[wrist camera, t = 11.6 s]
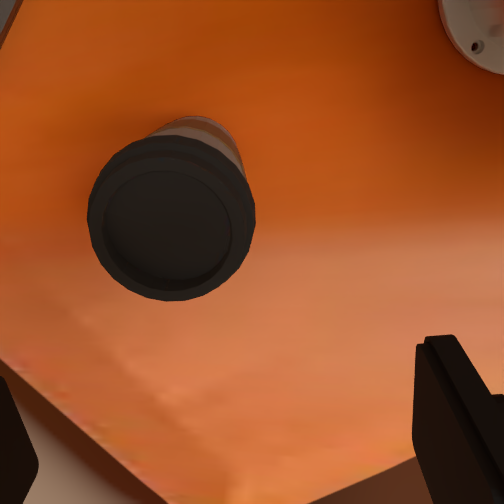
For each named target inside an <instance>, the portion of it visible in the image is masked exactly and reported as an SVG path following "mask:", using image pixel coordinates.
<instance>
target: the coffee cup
mask: <svg viewBox="0 0 504 504" xmlns="http://www.w3.org/2000/svg"><path fill="white" fill-rule="evenodd" d="M87 222H88V227H89V232H90V237H91V242H92V247H93V249H94V251H95V253H96V255H97V257H98V259H99V261H100V263H101V265H102V266H103V267H104V268H105V269H106V271H107V272H108V273H109V274H110V275H111V276H112V278H113V279H115V280H116V281H117V282H119V283H120V284H121V285H123V286H124V287H125V288H127V289H128V290H130V291H132V292H135V293H137V294H139V295H141V296H144V297H146V298H150V299H156V300H161V301H186V300H189V299H193V298H196V297H200V296H203V295H205V294H207V293H209V292H210V291H212V290H214V289H216V288H217V287H219V286H220V285H221V284H222V283H224V282H226V281H227V280H228V279H229V278H230V277H231V276H232V275H233V274H234V273H235V272H236V271H237V270H238V269H239V267H240V266H241V264H242V262H243V260H244V259H245V257H246V255H247V253H248V252H249V248H250V244H251V241H252V237H253V233H254V228H255V224H256V221H255V203H254V200H253V197H252V193H251V190H250V187H249V184H248V182H247V179H246V175H245V171H244V167H243V163H242V160H241V157H240V154H239V151H238V149H237V146H236V143H235V141H234V139H233V138H232V136H231V135H230V133H229V132H228V131H227V130H226V129H225V128H224V127H223V126H222V125H220V124H219V123H217V122H215V121H213V120H211V119H209V118H204V117H200V116H188V117H184V118H181V119H177V120H175V121H173V122H171V123H168V124H166V125H164V126H163V127H161V128H159V129H158V130H156V131H155V132H153V133H151V134H150V135H148V136H147V137H145V138H144V139H142V140H139V141H135V142H132V143H131V144H129V145H128V146H126V147H125V148H123V149H122V150H120V151H119V152H117V153H116V154H114V155H113V157H112V158H111V159H110V160H109V162H108V163H107V164H106V165H105V167H104V168H103V169H102V170H101V172H100V174H99V176H98V178H97V179H96V182H95V184H94V187H93V189H92V192H91V194H90V197H89V201H88V212H87Z"/></svg>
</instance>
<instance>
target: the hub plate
mask: <svg viewBox="0 0 504 504" xmlns="http://www.w3.org/2000/svg"><path fill="white" fill-rule="evenodd" d="M22 2H23V0H0V49H1V46H2V44H3V42H4V40H5V38H6V36H7V34H8V32H9V29H10V27H11V25H12V23H13V21H14V19H15V17H16V15H17V13H18V10H19V8H20V6H21V4H22Z"/></svg>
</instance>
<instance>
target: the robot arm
mask: <svg viewBox="0 0 504 504" xmlns="http://www.w3.org/2000/svg"><path fill="white" fill-rule="evenodd" d="M438 7H439V13H440V18H441V20H442V23H443V26H444V29H445V32H446V34H447V35H448V37H449V39H450V40H451V42H452V44H453V45H454V47H455V48H456V49H457V50H458V51H459V52H460V53H461V54H462V55H463V56H464V57H465V58H466V59H467V60H468V61H470V62H471V63H473V64H474V65H476V66H478V67H479V68H481V69H484V70H487V71H490V72H493V73H496V74H502V75H504V0H438ZM473 43H475V45H476V46H475V49H474V50H473V51H472V50H471V46H472V44H473ZM412 441H413V446H414V450H415V454H416V456H417V459H418V462H419V465H420V467H421V470H422V473H423V476H424V479H425V481H426V484H427V487H428V490H429V493H430V495H431V498H432V501H433V504H504V395H503V394H495V395H491V393H490V392H489V390H488V388H487V387H486V385H485V384H484V382H483V380H482V379H481V377H480V375H479V374H478V372H477V371H476V369H475V367H474V366H473V364H472V363H471V361H470V359H469V358H468V356H467V354H466V353H465V351H464V350H463V348H462V346H461V345H460V343H459V342H458V340H457V338H456V337H455V336H454V335H452V334H451V335H438V336H427V337H425V340H424V343H423V344H417V346H416V356H415V378H414V400H413V421H412ZM38 467H39V463H38V458H37V455H36V453H35V450H34V448H33V446H32V443H31V441H30V438H29V436H28V434H27V431H26V429H25V426H24V424H23V422H22V419H21V417H20V414H19V412H18V410H17V407H16V405H15V402H14V400H13V398H12V395H11V393H10V391H9V388H8V386H7V383H6V381H5V380H4V378H3V377H2V376H0V504H23V502H24V500H25V498H26V496H27V494H28V492H29V489H30V488H31V486H32V483H33V482H34V480H35V478H36V475H37V473H38Z"/></svg>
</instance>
